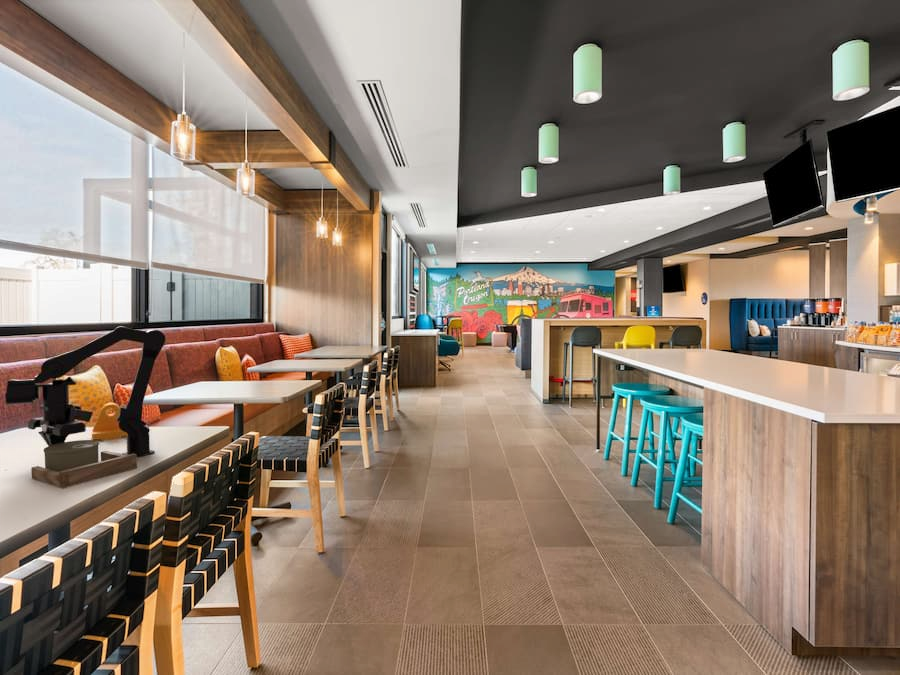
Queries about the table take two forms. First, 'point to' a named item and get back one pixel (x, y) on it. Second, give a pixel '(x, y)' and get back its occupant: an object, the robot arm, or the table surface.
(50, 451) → the can
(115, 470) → the pocket
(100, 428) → the bracket
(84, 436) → the table surface
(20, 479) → the table surface
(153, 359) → the robot arm
